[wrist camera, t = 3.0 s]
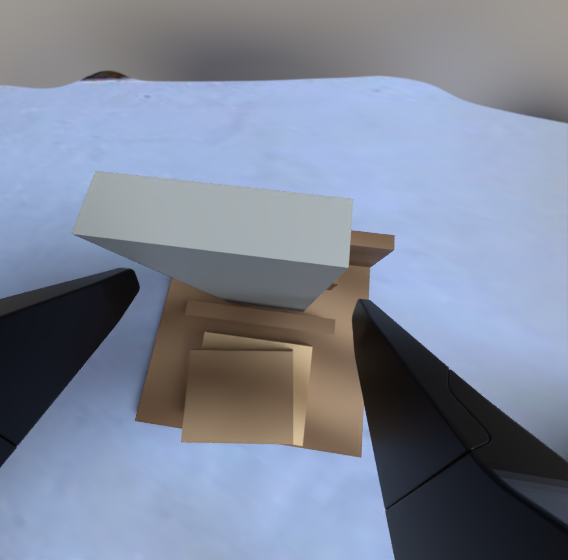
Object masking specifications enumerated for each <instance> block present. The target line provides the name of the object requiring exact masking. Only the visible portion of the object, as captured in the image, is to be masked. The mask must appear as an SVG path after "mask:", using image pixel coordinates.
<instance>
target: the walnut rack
mask: <svg viewBox="0 0 568 560" xmlns="http://www.w3.org/2000/svg"><path fill="white" fill-rule="evenodd" d="M394 236H395V235H387V234H378V233H369V232H361V231H352V230H351V240H350V255H349V268H348V269H347V270H346V271H345V272H344V273H343V274H342V275H341V276H340V277H339V278H338V279H337V280H336V281H335V282H334V283H332V284H331V285H330V286H329V287H328V288H327V289H326V290H325V291H324V292H323V293H322V294H321V295H320V296H319V297H318V298H317V299H316V300H315V301H314V302H313V303H312V304H311V305H310V306H309V307H308V308H307V309H306V310H305V311H304V312H299V311H291V310H284V309H276V308H269V307H261V306H254V305H246V304H239V303H231V302H227V301H225V300H222V299H220V298H218V297H215V296H213V295H211V294H209V293H206V292H204V291H202V290H199V289H197V288H195V287H192V286H190V285H188V284H186V283H183V282H181V281H179V280H176V279H174V278H171V282H170V286H169V290H168V294H167V298H166V302H165V306H164V309H163V313H162V317H161V321H160V325H159V329H158V333H157V337H156V341H155V344H154V348H153V352H152V356H151V360H150V364H149V368H148V372H147V376H146V379H145V383H144V387H143V391H142V395H141V399H140V403H139V407H138V410H137V414H136V418H135V421H139V422H145V423H151V424H157V425H163V426H170V427H176V428H183V418H184V409H185V399H186V389H187V380H188V370H189V360H190V351H191V350H194V349H198V348H202V343H203V338H204V333H205V332H211V331H212V332H220V333H227V334H234V335H241V336H248V337H255V338H263V339H270V340H277V341H284V342H291V343H298V344H305V345H311V346H312V357H311V367H310V377H309V387H308V397H307V407H306V417H305V427H304V437H303V446H298V445H292V444H281V445H287V446H294V447H300V448H306V449H312V450H318V451H325V452H331V453H337V454H343V455H349V456H356V457H361V453H362V431H363V409H364V401H363V396H362V391H361V386H360V381H359V376H358V371H357V366H356V361H355V355H354V343H353V330H352V314H353V311H354V308H355V305H356V303H357V300H358V299H368V300H369V278H370V267H371V266H373V265H374V264H376V263H377V262H378V261H380V260H381V259H382V258H384V257H385V256H387V255H388V254H389V253H391V252H392V251H393V250H394Z"/></svg>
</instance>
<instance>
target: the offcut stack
mask: <svg viewBox="0 0 568 560" xmlns="http://www.w3.org/2000/svg"><path fill="white" fill-rule="evenodd" d="M311 357H312V346H311V345H305V344H298V343H291V342H284V341H277V340H270V339H263V338H255V337H248V336H241V335H234V334H227V333H220V332H212V331H211V332H205V333H204V338H203V343H202V348H198V349H194V350H191V351H190V360H189V370H188V380H187V389H186V399H185V409H184V418H183V428H182V437H181V442H195V443H245V444H292V445H298V446H303V437H304V427H305V417H306V407H307V397H308V387H309V377H310V367H311Z"/></svg>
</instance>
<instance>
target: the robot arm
mask: <svg viewBox="0 0 568 560" xmlns="http://www.w3.org/2000/svg"><path fill="white" fill-rule="evenodd" d="M139 289H140V286H139V282H138V280H137V277H136V274H135V272H134V270H132V269H129V268H117V269H114V270H110V271H106V272H102V273H98V274H94V275H91V276H87V277H83V278H79V279H75V280H71V281H68V282H64V283H60V284H56V285H52V286H48V287H45V288H41V289H37V290H33V291H29V292H25V293H22V294H18V295H14V296H10V297H6V298H2V299H0V468H1V466H2V465H3V464H4V463H5V461H6V460H7V459H8V458H9V456H10V455H11V454H12V453H13V452H14V450H15V449H16V448H17V446H18V445H19V444H20V443H21V441H22V440H23V439H24V438H25V436H26V435H27V434H28V433H29V431H30V430H31V429H32V428H33V427H34V425H35V424H36V423H37V422H38V420H39V419H40V418H41V417H42V415H43V414H44V413H45V412H46V411H47V409H48V408H49V407H50V406H51V404H52V403H53V402H54V401H55V400H56V398H57V397H58V396H59V395H60V393H61V392H62V391H63V390H64V388H65V387H66V386H67V385H68V384H69V382H70V381H71V380H72V379H73V377H74V376H75V375H76V374H77V372H78V371H79V370H80V369H81V368H82V366H83V365H84V364H85V363H86V361H87V360H88V359H89V358H90V357H91V355H92V354H93V353H94V352H95V350H96V349H97V348H98V347H99V345H100V344H101V343H102V342H103V341H104V339H105V338H106V337H107V336H108V334H109V333H110V332H111V331H112V329H113V328H114V327H115V326H116V324H117V323H118V322H119V320H120V319H121V318H122V316H123V315H124V313H125V312H126V310H127V309H128V307H129V306H130V304H131V302H132V301H133V299H134V298H135V296H136V295H137V293H138V292H139ZM352 330H353V343H354V355H355V361H356V366H357V371H358V376H359V381H360V386H361V391H362V396H363V401H364V406H365V411H366V416H367V421H368V426H369V431H370V436H371V441H372V446H373V451H374V456H375V461H376V466H377V471H378V476H379V481H380V486H381V491H382V496H383V501H384V506H385V509H386V511H385V512H386V517H387V522H388V527H389V532H390V537H391V542H392V547H393V553H394V558H395V560H568V462H567V461H566V460H565V459H563V458H562V457H561V456H559V455H558V454H557V453H556V452H554V451H553V450H552V449H550V448H549V447H548V446H546V445H545V444H544V443H543V442H541V441H540V440H539V439H537V438H536V437H535V436H533V435H532V434H531V433H530V432H528V431H527V430H526V429H524V428H523V427H522V426H520V425H519V424H518V423H517V422H515V421H514V420H513V419H511V418H510V417H509V416H507V415H506V414H505V413H504V412H502V411H501V410H500V409H499V408H497V407H496V406H495V405H493V404H492V403H491V402H490V401H488V400H487V399H486V398H485V397H483V396H482V395H481V394H480V393H478V392H477V391H476V390H475V389H474V388H472V387H471V386H470V385H469V384H468V383H466V382H465V381H464V380H463V379H462V378H461V377H459V376H458V375H457V374H456V373H455V372H454V371H452V370H449V367H448V366H446V365H445V364H444V363H443V362H442V361H441V360H439V359H438V358H437V357H436V356H435V355H434V354H432V353H431V352H430V351H429V350H428V349H427V348H425V347H424V346H423V345H422V344H421V343H420V342H418V341H417V340H416V339H415V338H414V337H413V336H411V335H410V334H409V333H408V332H407V331H406V330H404V329H403V328H402V327H401V326H400V325H399V324H397V323H396V322H395V321H394V320H393V319H392V318H390V317H389V316H388V315H387V314H386V313H385V312H383V311H382V310H381V309H380V308H379V307H378V306H376V305H375V304H374V303H373V302H372V301H370V300H368V299H358V300H357V303H356V305H355V308H354V311H353V314H352Z"/></svg>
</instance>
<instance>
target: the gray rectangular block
mask: <svg viewBox="0 0 568 560" xmlns="http://www.w3.org/2000/svg"><path fill="white" fill-rule="evenodd" d="M352 211H353V199H350V198H341V197H331V196H322V195H313V194H304V193H295V192H285V191H276V190H267V189H258V188H249V187H239V186H230V185H221V184H212V183H203V182H193V181H184V180H175V179H166V178H157V177H147V176H138V175H129V174H120V173H111V172H101V171H95V173H94V176H93V179H92V181H91V184H90V187H89V189H88V192H87V194H86V197H85V200H84V202H83V205H82V207H81V210H80V213H79V215H78V218H77V220H76V223H75V226H74V228H73V231H72V234H73V235H75V236H78V237H80V238H82V239H85V240H87V241H89V242H92V243H94V244H96V245H98V246H101V247H103V248H105V249H108V250H110V251H112V252H114V253H117V254H119V255H121V256H124V257H126V258H128V259H131V260H133V261H135V262H137V263H140V264H142V265H144V266H147V267H149V268H151V269H153V270H156V271H158V272H160V273H163V274H165V275H167V276H170V277H172V278H174V279H176V280H179V281H181V282H183V283H186V284H188V285H190V286H192V287H195V288H197V289H199V290H202V291H204V292H206V293H209V294H211V295H213V296H215V297H218V298H220V299H222V300H225V301H227V302H231V303H239V304H246V305H254V306H261V307H269V308H276V309H284V310H291V311H299V312H304V311H305V310H306V309H307V308H308V307H309V306H310V305H311V304H312V303H313V302H314V301H315V300H316V299H317V298H318V297H319V296H320V295H321V294H322V293H323V292H324V291H325V290H326V289H327V288H328V287H329V286H330V285H331V284H332V283H334V282H335V281H336V280H337V279H338V278H339V277H340V276H341V275H342V274H343V273H344V272H345V271H346V270H347V269H348V268H349V255H350V240H351V225H352Z"/></svg>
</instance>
